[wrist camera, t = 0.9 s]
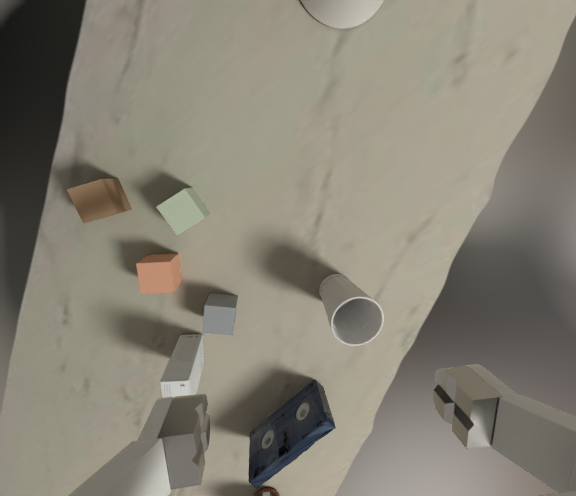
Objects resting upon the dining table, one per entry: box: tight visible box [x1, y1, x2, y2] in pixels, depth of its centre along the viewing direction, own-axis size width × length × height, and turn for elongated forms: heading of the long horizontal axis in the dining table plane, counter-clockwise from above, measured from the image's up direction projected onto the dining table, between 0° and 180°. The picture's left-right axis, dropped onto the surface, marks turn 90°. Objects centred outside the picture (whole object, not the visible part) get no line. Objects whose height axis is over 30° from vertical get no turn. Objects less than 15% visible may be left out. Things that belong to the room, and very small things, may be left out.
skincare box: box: [160, 334, 204, 398], centre depth 47 cm, size 6×4×12 cm
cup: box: [319, 274, 384, 346], centre depth 47 cm, size 8×8×12 cm
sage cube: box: [156, 187, 210, 235], centre depth 44 cm, size 5×5×5 cm
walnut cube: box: [67, 179, 131, 223], centre depth 42 cm, size 5×5×5 cm
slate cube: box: [202, 293, 238, 335], centre depth 49 cm, size 5×5×5 cm
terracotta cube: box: [136, 253, 182, 294], centre depth 46 cm, size 5×5×5 cm
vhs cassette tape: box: [249, 380, 335, 488], centre depth 54 cm, size 18×3×10 cm, turn 130°
